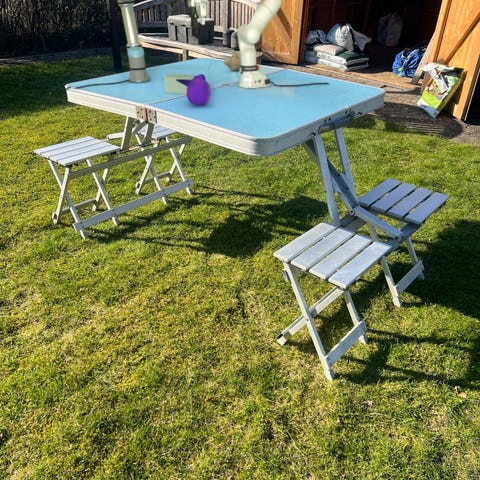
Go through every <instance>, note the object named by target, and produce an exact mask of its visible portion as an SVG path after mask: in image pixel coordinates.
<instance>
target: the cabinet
mask: <svg viewBox="0 0 480 480" xmlns="http://www.w3.org/2000/svg"><path fill="white" fill-rule="evenodd" d="M197 75H198V74H181V73H171V74H169V75H166V76H164V77H163V79H164V80H163V81H164V89H165V90H164V91H165V93H166V94H177V95H187V86H185V85H183V84H181V83H179V82H178V81H176V79H189V80H193V79H194V76H197Z"/></svg>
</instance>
